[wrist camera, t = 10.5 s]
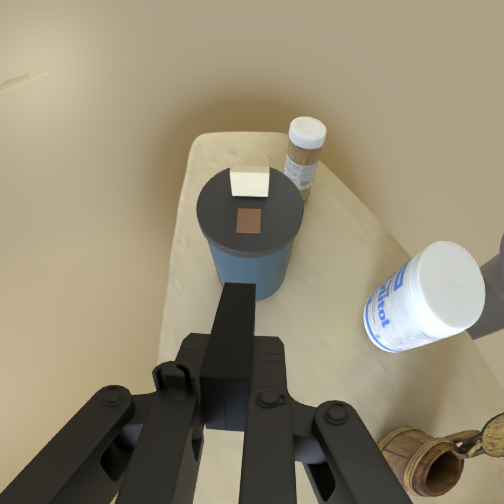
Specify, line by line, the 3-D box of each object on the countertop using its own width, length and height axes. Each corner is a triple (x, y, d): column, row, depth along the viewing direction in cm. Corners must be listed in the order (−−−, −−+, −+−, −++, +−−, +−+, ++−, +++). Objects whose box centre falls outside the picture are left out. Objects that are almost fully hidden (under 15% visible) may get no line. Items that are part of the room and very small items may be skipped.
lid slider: (268, 197, 26) (269, 173, 23) (232, 196, 27) (229, 172, 24) (268, 161, 28) (269, 136, 25) (235, 160, 28) (233, 136, 25)
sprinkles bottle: (304, 179, 47) (319, 114, 35) (313, 201, 45) (332, 137, 33) (277, 182, 46) (285, 116, 34) (284, 205, 44) (296, 139, 32)
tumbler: (287, 304, 38) (306, 254, 24) (212, 301, 38) (189, 250, 25) (287, 238, 42) (301, 165, 28) (219, 235, 42) (203, 162, 29)
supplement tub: (357, 287, 39) (406, 234, 26) (414, 285, 39) (473, 237, 26) (364, 358, 35) (425, 336, 21) (424, 350, 35) (494, 324, 21)
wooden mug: (454, 443, 28) (545, 447, 12) (379, 498, 26) (456, 544, 10) (437, 397, 32) (531, 383, 16) (358, 451, 29) (437, 484, 13)
